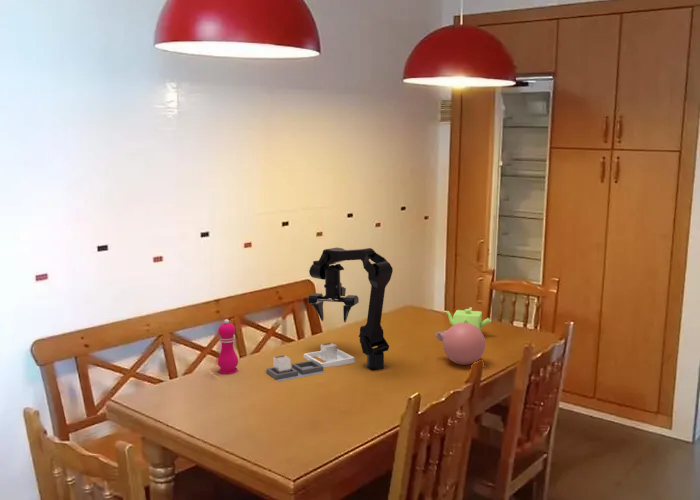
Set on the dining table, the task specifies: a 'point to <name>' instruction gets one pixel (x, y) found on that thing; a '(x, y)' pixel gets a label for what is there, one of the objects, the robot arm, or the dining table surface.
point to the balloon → (462, 343)
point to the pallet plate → (297, 371)
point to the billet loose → (328, 352)
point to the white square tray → (341, 360)
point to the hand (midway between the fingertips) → (333, 321)
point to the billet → (281, 364)
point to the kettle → (468, 318)
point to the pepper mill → (227, 349)
